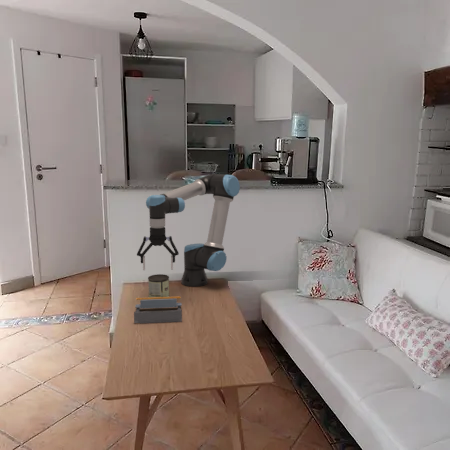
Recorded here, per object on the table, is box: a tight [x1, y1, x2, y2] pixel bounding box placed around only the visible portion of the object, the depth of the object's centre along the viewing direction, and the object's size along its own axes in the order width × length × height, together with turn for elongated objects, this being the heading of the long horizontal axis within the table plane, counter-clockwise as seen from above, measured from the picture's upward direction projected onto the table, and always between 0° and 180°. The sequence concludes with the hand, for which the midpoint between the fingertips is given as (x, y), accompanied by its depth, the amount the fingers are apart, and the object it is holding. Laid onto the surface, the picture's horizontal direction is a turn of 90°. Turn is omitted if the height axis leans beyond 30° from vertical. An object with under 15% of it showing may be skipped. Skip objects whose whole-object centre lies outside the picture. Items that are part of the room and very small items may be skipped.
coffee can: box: [147, 273, 170, 298], centre depth 214 cm, size 10×10×14 cm
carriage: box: [135, 296, 183, 310], centre depth 207 cm, size 22×3×5 cm, turn 98°
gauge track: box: [133, 306, 183, 324], centre depth 200 cm, size 21×18×5 cm
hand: (158, 269), depth 213 cm, fingers open, 13 cm apart
